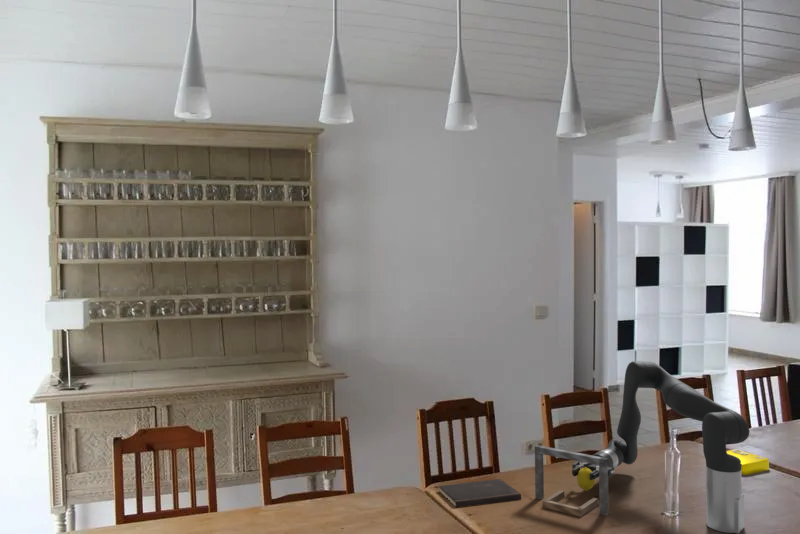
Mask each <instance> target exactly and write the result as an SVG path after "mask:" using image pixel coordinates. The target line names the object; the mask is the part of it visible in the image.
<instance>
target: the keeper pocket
mask: <svg viewBox="0 0 800 534" xmlns="http://www.w3.org/2000/svg"><path fill="white" fill-rule="evenodd" d="M544 455H545V456H551V457H556V458H561V459H566V460H570V461H574V462H575V461H580V463H584V462H585V463H590V464H595V465H599V478H598V481H599V483H598V485H599V486H598V487H599V491H598V492H599V499H598V498H596V497H592V498H591V499H589V500H588V501H586V502H585V503H583V504H582V505H581V506H578V507H577V506H572V505H570V504H565V503H561V502H559V501H561V500H562V499H564V498H565V490H561V489H560V490H558V491H556V492H555V493H553V494H551V495H549V496H547V497H546V498H545V495H544V494H545V490H544V488H545V487H544V483H545V480H544V477H545V475H544ZM592 455H593V454H587V453H582V452H575V451H569V450H565V449H559V448H554V447H551V446H545V445H544V446H543V445H540V444H539V445H535V446H534V479H535V480H534V485H535V486H534V488H535V491H534V492H535V493H534V495H535V496H534V497H535V499H537V500H542V504H541V505H542V508H545V509H549V510H553V511H557V512H561V513H563V514H564V513H565V514H569V515H572V516H577V517H580V518H581V517H584V516H585V515H586V514H588V513H589V512H590V511H592V510H593V509H595V508H596V507H597V506H599V515H601V514H602V516H605V515H606V516H608V515H609V512H610V511H609V510H610V509H609V501H610V500H609V477H608V458H603V457H598V456H592ZM607 514H608V515H607Z"/></svg>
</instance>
